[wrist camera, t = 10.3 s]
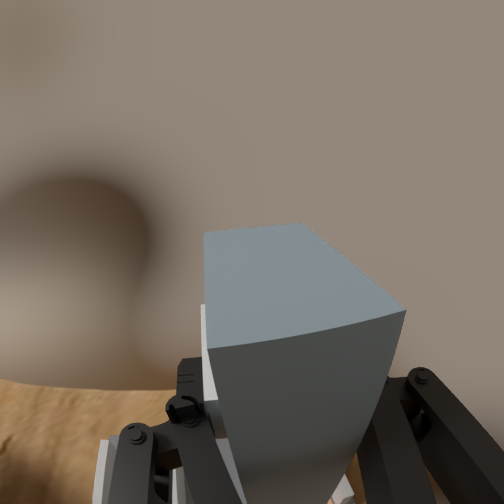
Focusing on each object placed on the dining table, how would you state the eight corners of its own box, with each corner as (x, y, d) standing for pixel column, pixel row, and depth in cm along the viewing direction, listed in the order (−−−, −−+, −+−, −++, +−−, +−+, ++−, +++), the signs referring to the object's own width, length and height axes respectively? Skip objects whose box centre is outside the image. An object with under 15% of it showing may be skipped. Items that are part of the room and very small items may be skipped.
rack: (103, 549, 11) (81, 540, 9) (112, 438, 25) (98, 419, 24) (362, 524, 14) (375, 514, 13) (313, 417, 29) (316, 396, 28)
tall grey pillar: (252, 520, 9) (206, 348, 5) (234, 427, 16) (203, 232, 11) (326, 503, 10) (406, 309, 5) (294, 416, 16) (301, 222, 12)
